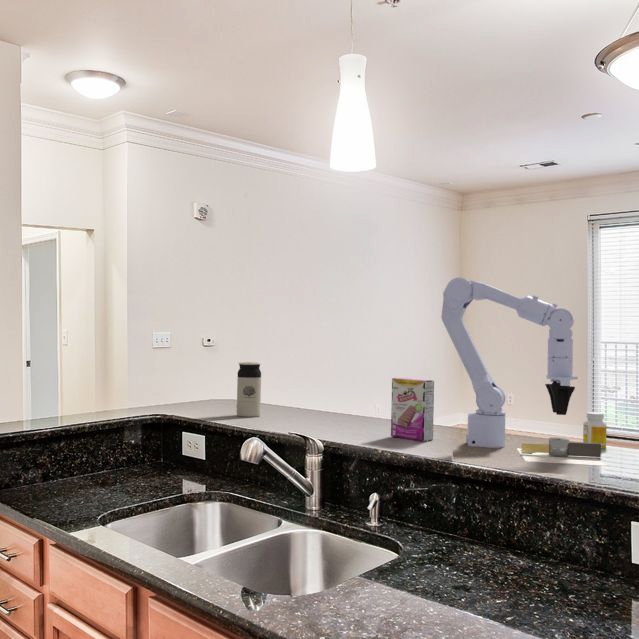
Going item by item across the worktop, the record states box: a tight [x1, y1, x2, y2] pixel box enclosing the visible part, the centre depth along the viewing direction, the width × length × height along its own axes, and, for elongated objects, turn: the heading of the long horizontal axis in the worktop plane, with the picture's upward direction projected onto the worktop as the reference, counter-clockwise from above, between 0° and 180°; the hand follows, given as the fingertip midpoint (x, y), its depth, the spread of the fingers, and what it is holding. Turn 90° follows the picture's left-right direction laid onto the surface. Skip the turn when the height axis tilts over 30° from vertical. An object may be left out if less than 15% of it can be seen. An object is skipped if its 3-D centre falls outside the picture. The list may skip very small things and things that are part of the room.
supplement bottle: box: [582, 411, 607, 450], centre depth 163 cm, size 5×5×10 cm
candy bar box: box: [390, 377, 435, 442], centre depth 177 cm, size 11×5×16 cm, turn 47°
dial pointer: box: [521, 437, 602, 458], centre depth 149 cm, size 17×4×4 cm, turn 80°
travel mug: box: [236, 361, 262, 418], centre depth 219 cm, size 8×8×18 cm
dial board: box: [515, 447, 609, 467], centre depth 149 cm, size 17×17×1 cm
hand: (559, 413), depth 157 cm, fingers open, 4 cm apart
